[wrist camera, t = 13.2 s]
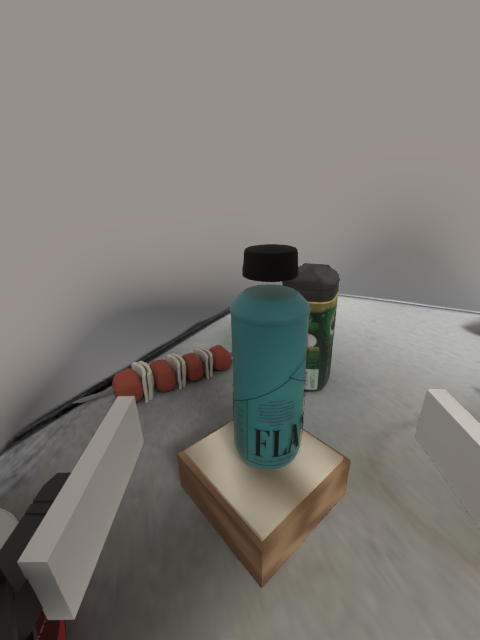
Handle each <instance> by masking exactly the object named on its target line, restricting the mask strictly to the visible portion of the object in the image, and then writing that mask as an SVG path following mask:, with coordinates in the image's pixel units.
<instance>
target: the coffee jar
mask: <svg viewBox="0 0 480 640" xmlns="http://www.w3.org/2000/svg"><path fill="white" fill-rule="evenodd" d="M339 281H340V279H339V274H338V273H337V272H336V271H335V270H334V269H332V268H331V267H330V266H329V265H323V264H307V263H305V264H303V265H302V266H300V267H299V273H298V277H297V278H295V279H292V280H288V281H282V283H283V285H282V286H287V287H290V288H293V289H295V290H296V291H298V292H299V293H300V294H301V295H302V296H303V297H304V298H305V299H306V301H307V302H308V303H309V305H310V314H309V323H308V330H309V331H308V343H307V345H308V346H307V350H309V352H308V353H309V356H308V355H306V356H307V357H308V363H307V365H306V366H307V367H306V369H305V374H306V373H307V374H306V375H307V376H306V378H305V380H307V381H306V382H304V387H305V389H304V391H305V390H306V391H318V390H321V389H322V388H323V387H324V386H325V385H326V383H327V381H328V378H329V374H330V366H331V357H332V345H333V336H334V327H335V317H336V308H337V298H338V287H339V286H338V285H339ZM309 333H310V334H309ZM308 348H309V349H308ZM308 353H307V354H308ZM307 357H306V360H307Z"/></svg>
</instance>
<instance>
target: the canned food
mask: <svg viewBox="0 0 480 640" xmlns="http://www.w3.org/2000/svg"><path fill="white" fill-rule="evenodd" d="M18 523H19V521H18V520H17V519H16V517H15V516H14V515H13V514H11V513H10V512H9V511H7V510H4V509H1V508H0V549H1V548H2V547H3V545H4V544H5V542H6V541H7V539H8V538H9V536H10V535H11V533H12V532H13V530H14V529H15V527H16V526H17V524H18ZM35 628H36V631H37V636H38V640H65V622H64V620H48V619H47V617H46V615H45V613H44V611H43V610H42V611H41V613H40V615H39V618H38V620H37V622H36V624H35Z"/></svg>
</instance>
